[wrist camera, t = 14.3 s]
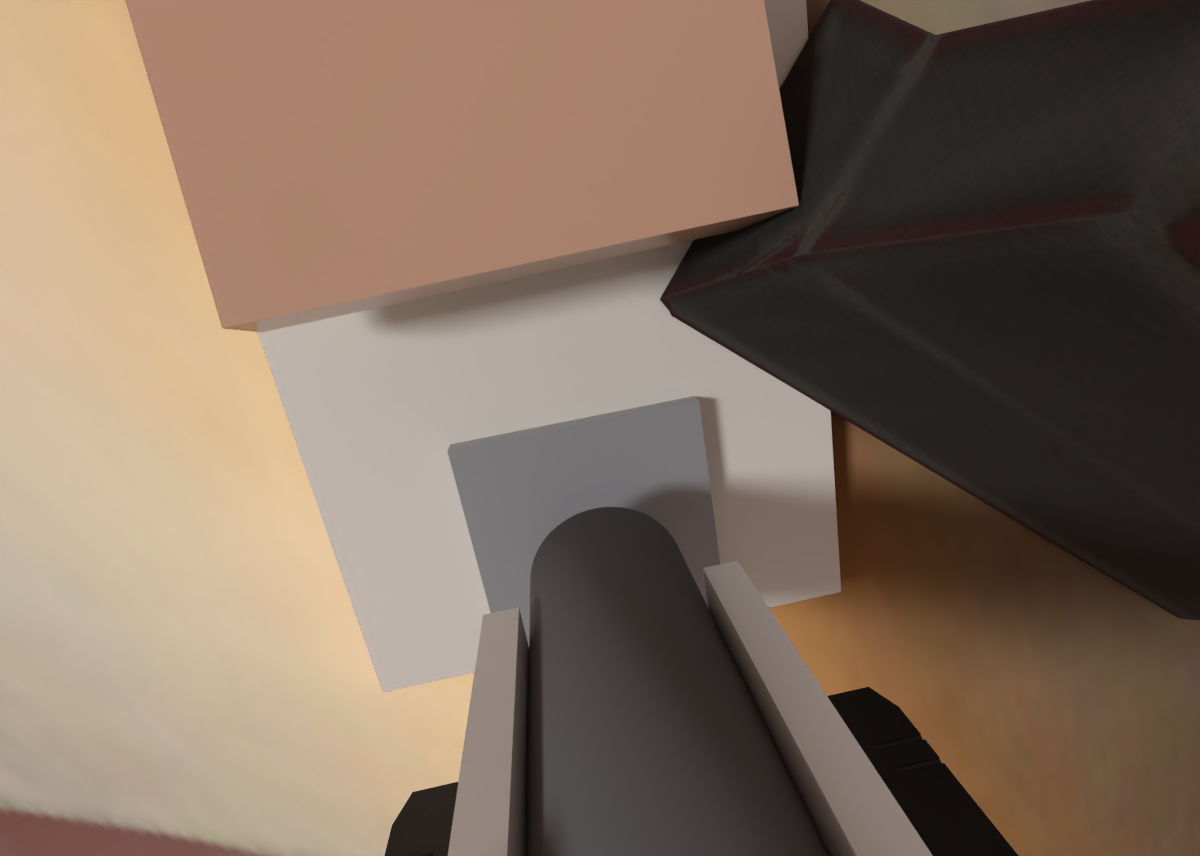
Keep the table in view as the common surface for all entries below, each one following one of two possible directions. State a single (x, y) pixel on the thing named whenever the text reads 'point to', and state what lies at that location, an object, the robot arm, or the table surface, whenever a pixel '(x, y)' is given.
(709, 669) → the tool handle
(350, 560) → the board
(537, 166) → the tile
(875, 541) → the table surface
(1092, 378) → the barrier
